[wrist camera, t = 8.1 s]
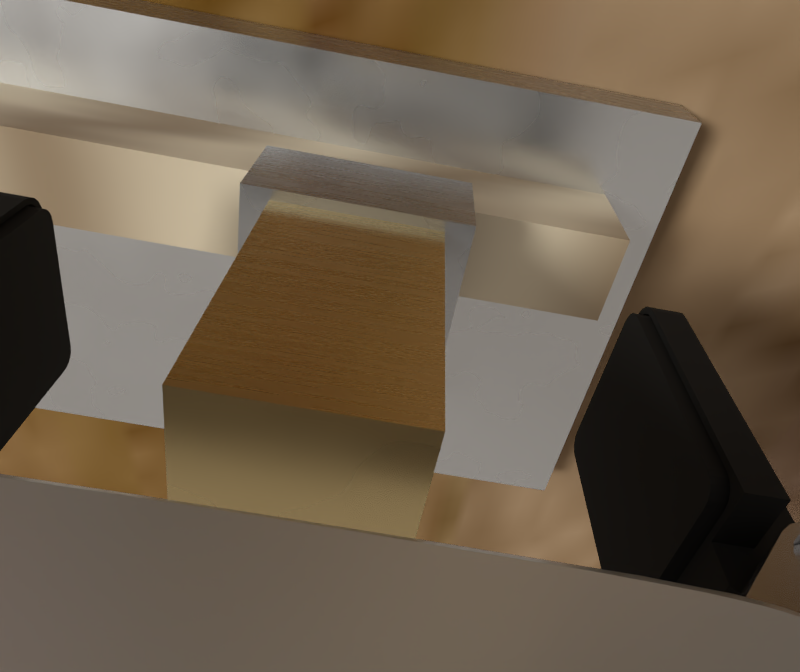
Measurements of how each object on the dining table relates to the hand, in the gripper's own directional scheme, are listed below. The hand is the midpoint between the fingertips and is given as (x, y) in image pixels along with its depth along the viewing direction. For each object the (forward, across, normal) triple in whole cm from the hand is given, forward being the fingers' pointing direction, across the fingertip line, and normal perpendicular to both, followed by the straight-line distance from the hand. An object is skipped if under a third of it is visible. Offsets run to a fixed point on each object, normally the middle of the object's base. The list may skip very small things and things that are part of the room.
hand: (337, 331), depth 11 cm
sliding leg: (+6, 0, +1) cm, 6 cm away
